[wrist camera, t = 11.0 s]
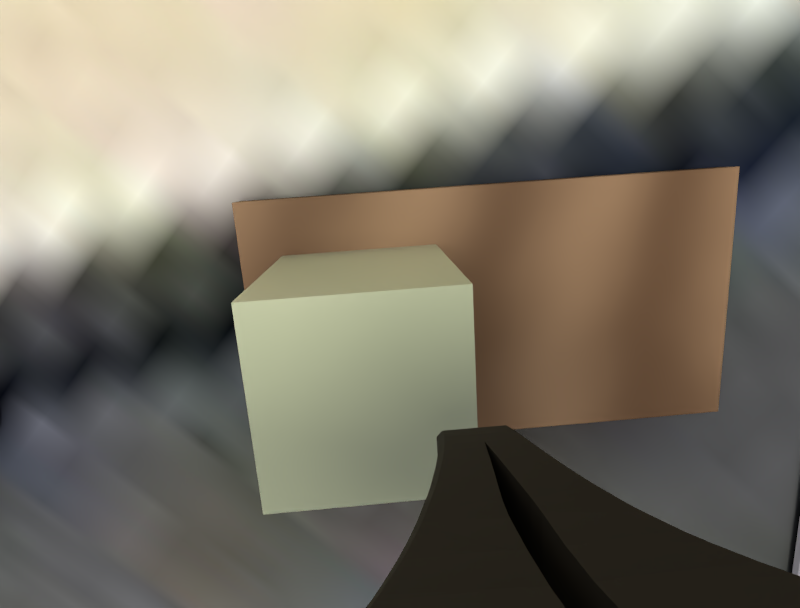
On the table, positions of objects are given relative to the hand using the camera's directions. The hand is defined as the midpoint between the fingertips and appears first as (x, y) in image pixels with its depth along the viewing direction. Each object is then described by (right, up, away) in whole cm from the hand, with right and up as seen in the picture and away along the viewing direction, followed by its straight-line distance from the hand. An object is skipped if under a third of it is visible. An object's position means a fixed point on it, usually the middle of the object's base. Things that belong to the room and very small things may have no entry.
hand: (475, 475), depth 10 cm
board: (+2, +3, +10) cm, 10 cm away
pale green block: (-3, +3, +8) cm, 9 cm away
